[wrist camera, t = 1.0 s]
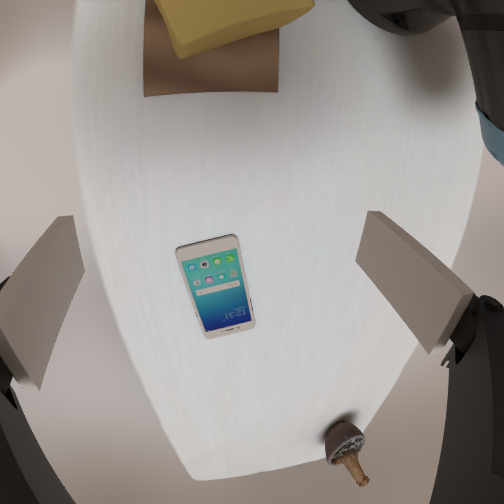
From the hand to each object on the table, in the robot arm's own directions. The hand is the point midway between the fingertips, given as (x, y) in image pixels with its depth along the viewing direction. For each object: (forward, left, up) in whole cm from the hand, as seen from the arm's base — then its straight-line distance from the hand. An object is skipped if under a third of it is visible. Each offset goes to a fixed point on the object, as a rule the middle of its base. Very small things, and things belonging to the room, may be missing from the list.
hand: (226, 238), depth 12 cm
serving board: (-9, -11, -19) cm, 24 cm away
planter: (+16, +75, -19) cm, 79 cm away
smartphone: (+9, +15, -20) cm, 26 cm away
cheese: (-10, -12, -19) cm, 25 cm away
